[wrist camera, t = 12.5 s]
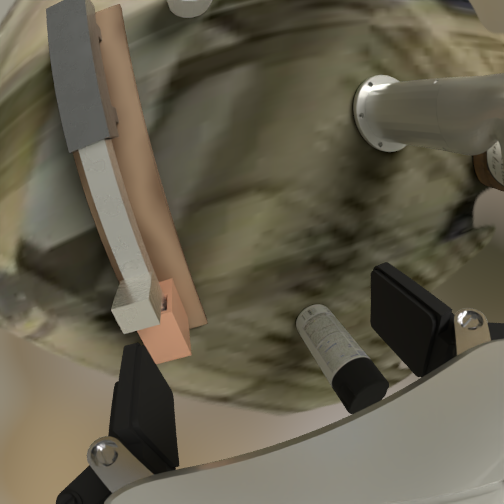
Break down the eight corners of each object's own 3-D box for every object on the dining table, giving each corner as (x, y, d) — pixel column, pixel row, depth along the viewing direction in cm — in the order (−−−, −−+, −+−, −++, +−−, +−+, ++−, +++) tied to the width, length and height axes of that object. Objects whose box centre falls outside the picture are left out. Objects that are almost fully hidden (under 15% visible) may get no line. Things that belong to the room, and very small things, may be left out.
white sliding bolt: (109, 112, 27) (84, 104, 18) (178, 320, 38) (181, 366, 30) (76, 125, 26) (43, 123, 18) (151, 327, 37) (148, 374, 29)
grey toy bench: (100, 16, 24) (84, -9, 17) (125, 136, 32) (109, 136, 24) (68, 29, 24) (46, 9, 16) (91, 149, 31) (69, 153, 24)
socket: (172, 278, 40) (171, 311, 33) (187, 317, 43) (191, 355, 35) (139, 288, 40) (132, 322, 32) (157, 326, 42) (155, 364, 35)
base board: (121, 8, 26) (119, 3, 24) (206, 318, 46) (207, 323, 44) (54, 35, 24) (50, 32, 23) (148, 334, 44) (147, 340, 43)
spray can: (291, 335, 51) (340, 420, 33) (299, 302, 49) (358, 386, 31) (323, 333, 53) (379, 410, 35) (333, 301, 50) (398, 376, 32)
